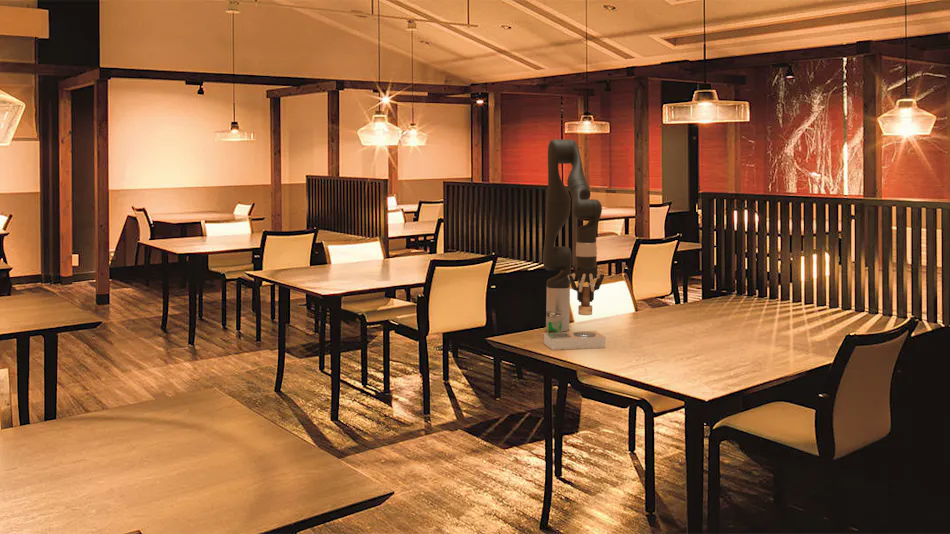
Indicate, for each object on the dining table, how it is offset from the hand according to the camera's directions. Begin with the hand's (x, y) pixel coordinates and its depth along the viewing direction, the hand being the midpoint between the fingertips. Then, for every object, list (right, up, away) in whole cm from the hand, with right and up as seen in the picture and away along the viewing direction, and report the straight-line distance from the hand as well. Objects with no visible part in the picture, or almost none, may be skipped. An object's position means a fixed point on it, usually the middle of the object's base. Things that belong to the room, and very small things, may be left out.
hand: (585, 301), depth 314 cm
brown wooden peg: (0, -5, +1) cm, 5 cm away
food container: (-10, -15, +11) cm, 21 cm away
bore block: (-4, -16, +1) cm, 17 cm away
